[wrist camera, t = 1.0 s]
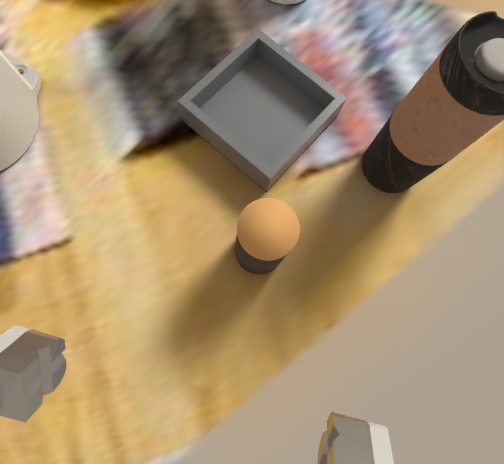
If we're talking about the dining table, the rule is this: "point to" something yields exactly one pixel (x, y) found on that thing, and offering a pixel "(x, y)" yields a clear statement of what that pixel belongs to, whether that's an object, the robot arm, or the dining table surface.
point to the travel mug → (443, 108)
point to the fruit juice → (287, 1)
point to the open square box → (261, 108)
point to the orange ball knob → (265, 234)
